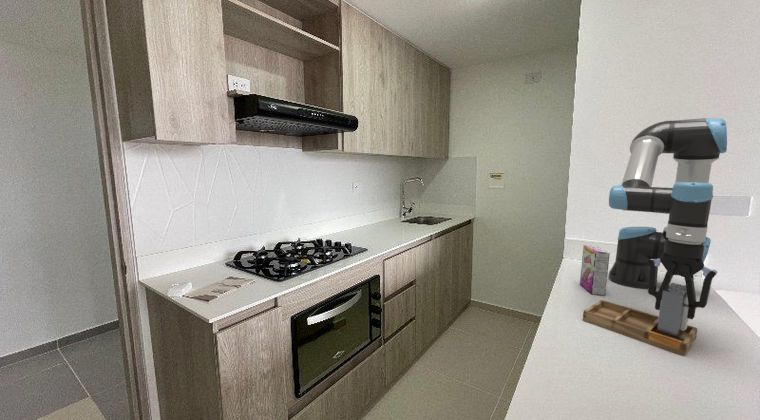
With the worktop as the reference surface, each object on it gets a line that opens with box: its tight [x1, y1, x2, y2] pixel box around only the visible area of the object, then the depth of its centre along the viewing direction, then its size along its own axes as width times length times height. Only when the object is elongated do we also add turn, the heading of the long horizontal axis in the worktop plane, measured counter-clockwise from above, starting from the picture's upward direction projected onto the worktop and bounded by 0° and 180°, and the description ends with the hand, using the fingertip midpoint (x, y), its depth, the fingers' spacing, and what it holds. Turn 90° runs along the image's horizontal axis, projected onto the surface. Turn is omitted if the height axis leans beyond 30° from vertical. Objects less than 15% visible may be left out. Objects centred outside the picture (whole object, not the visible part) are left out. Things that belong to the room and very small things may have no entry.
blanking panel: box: [657, 282, 688, 339], centre depth 86 cm, size 10×4×12 cm, turn 127°
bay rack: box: [582, 299, 698, 357], centre depth 93 cm, size 15×23×3 cm, turn 37°
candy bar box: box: [579, 244, 611, 296], centre depth 122 cm, size 11×5×16 cm, turn 168°
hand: (672, 325), depth 87 cm, fingers closed on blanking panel, 4 cm apart
